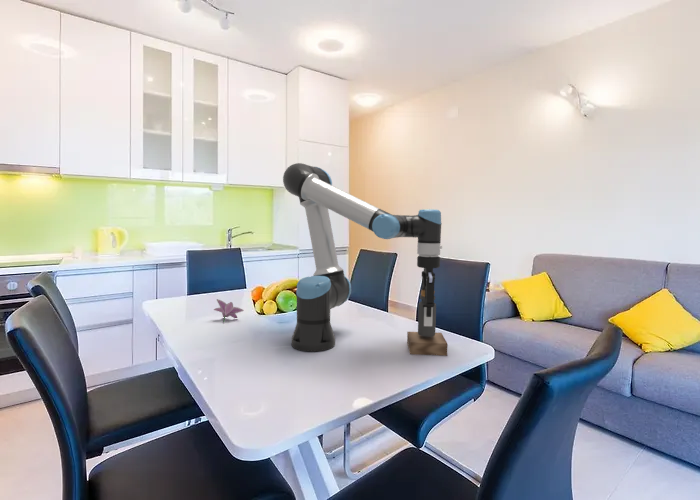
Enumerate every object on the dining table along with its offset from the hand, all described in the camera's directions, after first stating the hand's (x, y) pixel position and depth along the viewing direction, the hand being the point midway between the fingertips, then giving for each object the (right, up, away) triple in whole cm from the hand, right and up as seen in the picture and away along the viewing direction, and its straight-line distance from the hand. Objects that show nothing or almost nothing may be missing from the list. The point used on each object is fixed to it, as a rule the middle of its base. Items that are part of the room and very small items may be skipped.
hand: (426, 323), depth 127 cm
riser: (0, -9, +1) cm, 9 cm away
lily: (-78, -6, +33) cm, 85 cm away
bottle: (0, -4, 0) cm, 4 cm away
